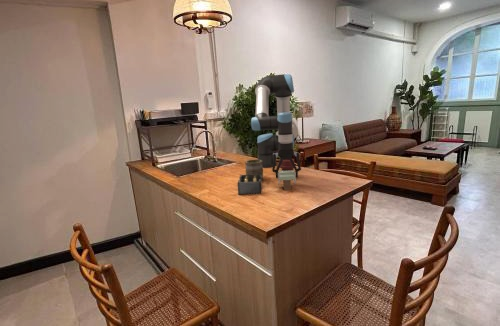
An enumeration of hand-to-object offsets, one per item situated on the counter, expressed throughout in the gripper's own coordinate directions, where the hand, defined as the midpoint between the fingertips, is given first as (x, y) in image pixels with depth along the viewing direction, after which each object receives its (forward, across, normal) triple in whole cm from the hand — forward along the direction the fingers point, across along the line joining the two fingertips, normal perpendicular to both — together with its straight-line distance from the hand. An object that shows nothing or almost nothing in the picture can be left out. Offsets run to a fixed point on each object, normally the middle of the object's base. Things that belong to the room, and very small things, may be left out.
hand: (286, 183), depth 148 cm
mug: (+3, -18, +19) cm, 26 cm away
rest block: (+2, 0, 0) cm, 2 cm away
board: (-4, 0, 0) cm, 4 cm away
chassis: (+2, -20, -1) cm, 20 cm away
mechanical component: (+2, +2, +20) cm, 20 cm away
